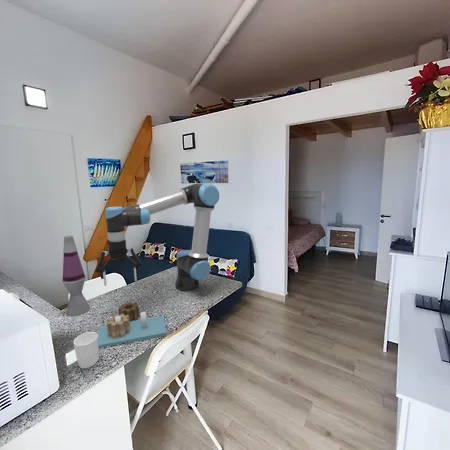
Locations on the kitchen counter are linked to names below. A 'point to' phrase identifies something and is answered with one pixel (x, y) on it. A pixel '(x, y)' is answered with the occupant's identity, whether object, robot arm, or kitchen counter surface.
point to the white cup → (87, 349)
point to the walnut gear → (130, 310)
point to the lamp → (73, 278)
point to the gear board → (134, 331)
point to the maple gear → (118, 326)
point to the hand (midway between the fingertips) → (120, 282)
